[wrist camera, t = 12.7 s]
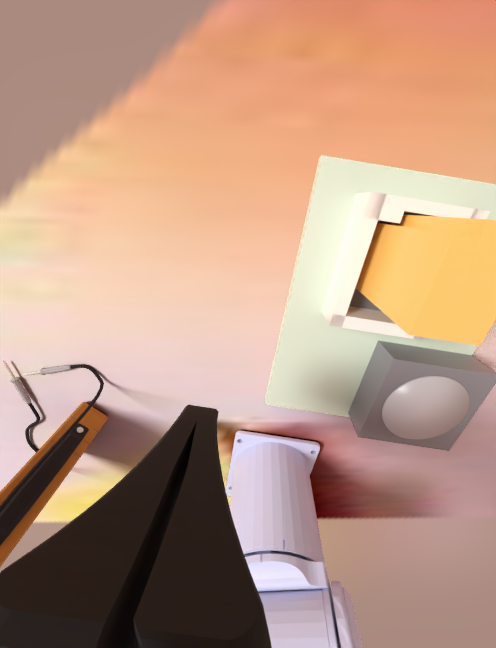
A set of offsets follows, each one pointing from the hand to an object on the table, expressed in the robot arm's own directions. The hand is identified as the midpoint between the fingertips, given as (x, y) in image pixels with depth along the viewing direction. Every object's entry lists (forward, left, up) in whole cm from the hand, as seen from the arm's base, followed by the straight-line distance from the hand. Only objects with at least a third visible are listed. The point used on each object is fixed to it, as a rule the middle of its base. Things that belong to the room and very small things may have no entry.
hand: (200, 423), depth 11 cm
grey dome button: (-2, -15, -9) cm, 17 cm away
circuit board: (+3, -11, -9) cm, 15 cm away
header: (+7, -10, -9) cm, 15 cm away
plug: (+7, -10, -8) cm, 15 cm away
